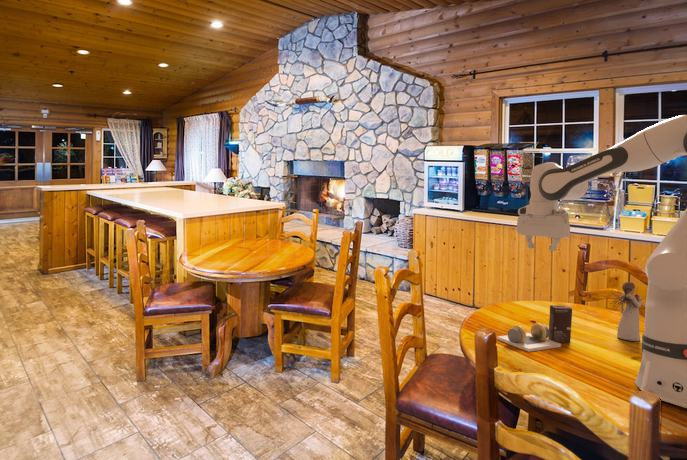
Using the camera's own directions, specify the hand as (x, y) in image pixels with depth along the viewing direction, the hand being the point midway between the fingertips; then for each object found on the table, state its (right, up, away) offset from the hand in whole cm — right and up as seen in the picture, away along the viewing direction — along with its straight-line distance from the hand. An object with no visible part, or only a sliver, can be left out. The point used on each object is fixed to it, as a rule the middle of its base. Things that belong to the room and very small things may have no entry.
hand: (541, 249), depth 152 cm
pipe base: (-7, -31, -6) cm, 33 cm away
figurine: (+28, -32, 0) cm, 42 cm away
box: (+5, -32, -3) cm, 32 cm away
